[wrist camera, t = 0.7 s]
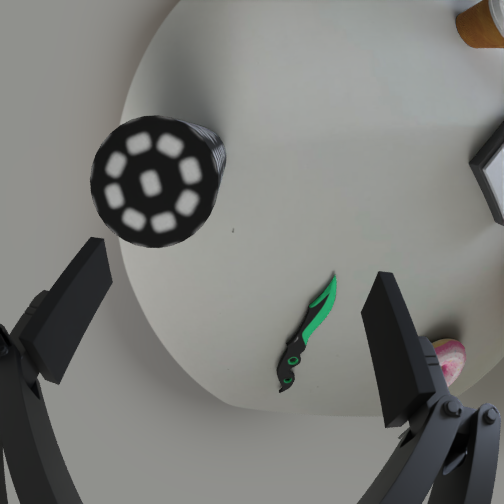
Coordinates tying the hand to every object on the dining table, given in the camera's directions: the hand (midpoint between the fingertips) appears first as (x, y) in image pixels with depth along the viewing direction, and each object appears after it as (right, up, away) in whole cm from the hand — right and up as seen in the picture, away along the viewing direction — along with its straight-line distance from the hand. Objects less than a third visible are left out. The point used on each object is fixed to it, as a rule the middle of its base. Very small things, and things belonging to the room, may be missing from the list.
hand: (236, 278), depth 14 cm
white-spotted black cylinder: (-7, +13, +22) cm, 27 cm away
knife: (+9, -12, +33) cm, 36 cm away
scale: (+44, +15, +24) cm, 52 cm away
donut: (+36, -20, +38) cm, 56 cm away
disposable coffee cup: (+35, +36, +16) cm, 53 cm away
